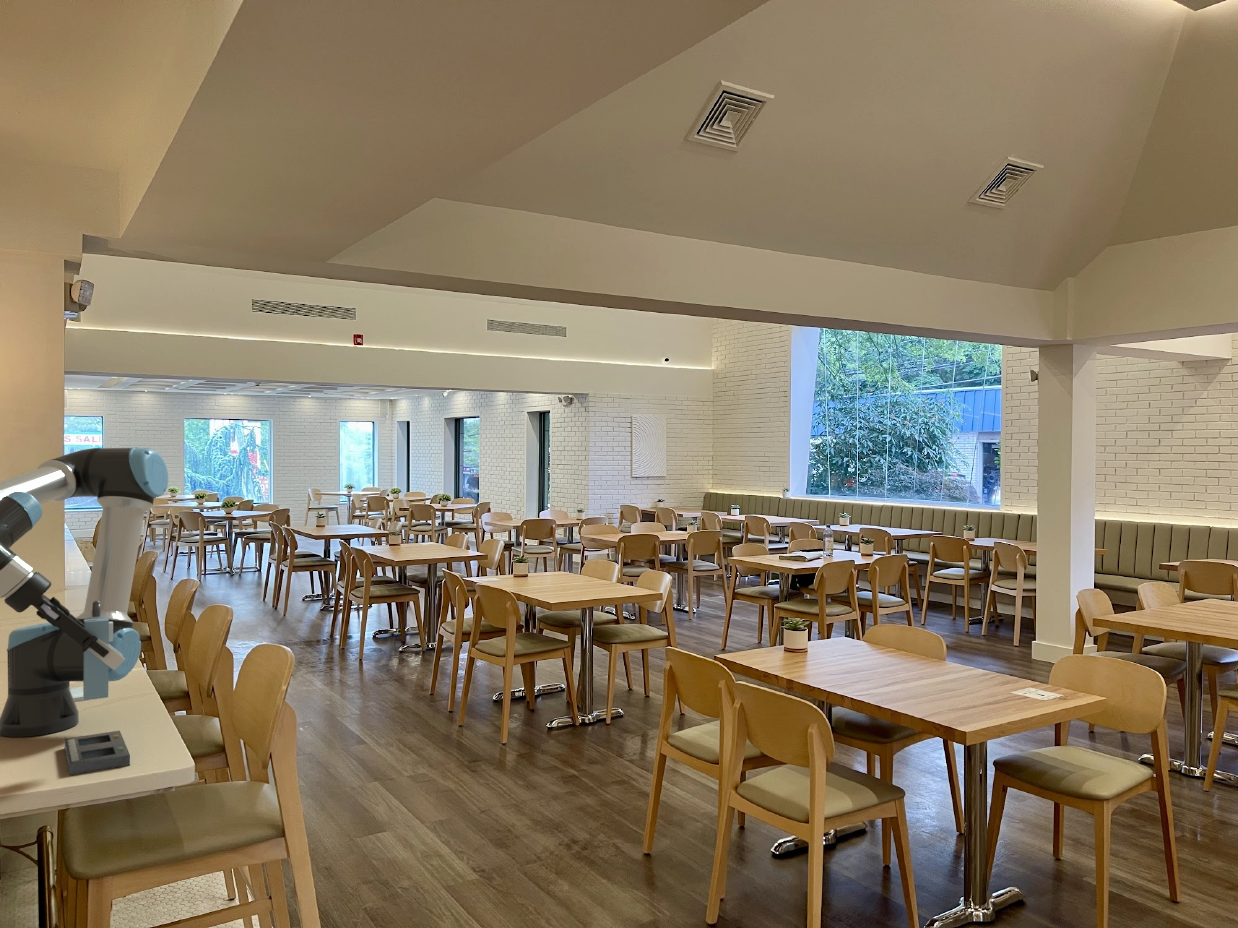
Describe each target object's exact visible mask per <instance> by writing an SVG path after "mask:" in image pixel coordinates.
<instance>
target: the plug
mask: <svg viewBox="0 0 1238 928" xmlns="http://www.w3.org/2000/svg"><path fill="white" fill-rule="evenodd" d="M100 616H101V603H100V602H99V601H94V602H93V604H92V617H100ZM84 628H85V629H86V630H87V631H89V632H90V633H91V634H92V635H94V636H96V637H97V639H98V638H99V639H100V640H102V641H103V642H104V643H105V644H107V645H108V646H109V642H111V641H113V622H109V620H108V618H98V619H85V620H84ZM108 668H109V666H108V665H107V664H105V663H104V662H103V661H101V660H100V659H99V658H98V657H96V656H95V655H94V654H92V653H91V652H90V651H88V650H86V651H85V652H84V679H83V682H82V683H83V685H82V687H83V696H84V700H85V701H90V700H89V699H92V700H97V699H98V698H99V699H104V698H109V681H108Z"/></svg>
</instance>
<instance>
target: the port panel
mask: <svg viewBox="0 0 1238 928" xmlns="http://www.w3.org/2000/svg"><path fill="white" fill-rule="evenodd" d="M64 752H65V757H66V763H67V769H68V774H69V776H73V775H79V774H86V773H91V772H98V771H103V770H104V771H105V770H110V769H115V768H120V767H128V766H130V765H131V760H130V759H131V757H130V756H131V755H130V752H129V750H128V747H127V745H126V743H125V740H124V737H123V735H122V732H121V730H115V731H108V732H102V733H101V732H100V733H94V734H88V735H81V736H75V737H74V736H73V737H67V738H66V737H65V738H64Z"/></svg>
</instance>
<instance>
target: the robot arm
mask: <svg viewBox="0 0 1238 928" xmlns="http://www.w3.org/2000/svg"><path fill="white" fill-rule="evenodd" d="M168 485H169V472H168V468H167V465H166V463H165V460H164V459H163V457H162V456H161V455H160V453H159V452H158V451H156V450H154V449H152V448H143V447H137V446H134V447H102V448H101V447H94V448H93V447H92V448H85V449H81V450H78V451H77V450H76V451H74V452H70V453H67V454H63V455H61V456H58V457H56V458H51V459H49V460H46V461H44V462H42V463H40V464H39V466H37V468H36V469H33V470H31V471H28V472H25V473H22V474H20V475H17V476H13V477H11V478H8V479H5V480H3V481H2V480H1V481H0V599H3V598H4V601H3V602H4V603H5V605H8V607H10V609H13V610H14V611H15V612H16V613H23V612H25V611H26V610H27V609H28V608H30V606H33V607H34V608H35V609H36V610H37V611H36V615H37V617H39V618H40V619H42V620H45V621H46V622H44V623H38V624H35V625H34V624H33V625H28V626H24V627H23V626H22V627H19V628H16V629H14V630H12V631H11V632H10V633H9V635H8V640H7V641H8V642H7V648H6V652H7V698H6V701H5V703H4V706H3V708H2V711H1V714H0V736H3V737H10V738H15V737H16V738H21V737H33V736H35V737H36V736H41V735H47V734H48V733H49V734H53V733H57V732H62V731H65V730H67V729H70V728H73V727H76V725H78V724H79V720H80V719H79V718H80V717H79V710H78V707H77V704H76V702H74V700H73V697H72V694H71V692H70V688H71V687H70V682H82V683H83V679H84V652H85V651H86V650H88V651H90V652H91V653H92V654H94V655H95V656H96V657H98V658H99V659H100V660H101V661H103V662H104V663H105V664H107V665H108V666H109V668H108V682H116V681H120V680H123V678H125V677H127V676H128V675H129V673H130V672H132V671H133V670H134V668H135V666H136V664H137V663H138V660H139V657H140V654H141V650H142V649H141V648H142V642H141V636H140V634H139V632H138V631H137V630H136V629H134V628H133V626H134V621H133V620H132V619H131V617H130V616H129V615H128V611H129V606H130V599H131V594H132V586H133V581H134V576H135V569H136V564H137V558H138V553H139V546H140V540H141V534H142V528H143V524H144V517H145V514H146V512H147V511H149V510H150V509H152V508H153V505H154V503H155V502H154V501H155V498H159V497H161V496H163V495H164V494H165V492H166V491H167V488H168V487H169V486H168ZM81 497H82V498H83V497H85V498H87V497H90V498H91V497H93V498H95V497H97V499H96V502H97V503H98V504H99V505H100V506H101V508H102V512H101V519H100V524H99V529H98V532H97V533H98V534H97V539H96V544H95V545H96V546H95V551H94V556H93V561H92V565H91V572H90V577H89V584H88V587H87V588H88V589H87V595H86V598H85V599H86V600H85V605H84V610H83V612H82V613H79V615H78V616H77V617H76V616H74V615H73V614H72V613H70V610H69V609H68V608H67V607H65V605H63V604H61V602H60V600H58V599H57V598H56V597H55V596H52V597H51V598H49V597H48V596H46V595H45V593H46V592H47V591H48V590H49V589H50V588H51V586H52V581H50V580H49V579H48V578H46V577H45V576H44V575H43V574H42V573H41V572H39V571H38V572H37V571H35V572H34V567H33V566H32V565H30V563H28V561H25V560H24V559H23V558H22V557H21V556H19V555H18V554H16V553H15V552H14V551H12V549H10V548H11V547H12V546H13V545H14V544H15V543H16V542H18V541H19V540H20V539H21V538H22V537H24V536H25V535H26V534H27V533H28V532H29V531H31V530H32V529H34V526H35V525H36V524H37V523H38V522H39V521H40V520H41V518H42V517H43V508H42V505H43V504H45V503H48V502H51V501H55V502H57V501H58V502H61V501H65V500H68V499H71V498H81ZM94 601H99V602H100V603H101V616H100V617H92V604H93V602H94ZM98 618H108V620H109V622H113V641H111V642H109V646H108V645H107V644H105V643H104V642H103V641H102V640H100V639H99V638H98V639H97V637H96V636H94V635H92V634H91V633H90V632H89V631H87V630H86V629H85V628H84V620H85V619H98Z"/></svg>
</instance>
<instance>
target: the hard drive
mask: <svg viewBox="0 0 1238 928" xmlns="http://www.w3.org/2000/svg"><path fill="white" fill-rule="evenodd" d="M70 692H71V694H72V697H73V700H74V702H75V703H77V701H78V702H83V701H84V702H85V701H86V700H84V696H83V686H78V687H77V686H75V687H70ZM88 701H91V699H89V700H88Z"/></svg>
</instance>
